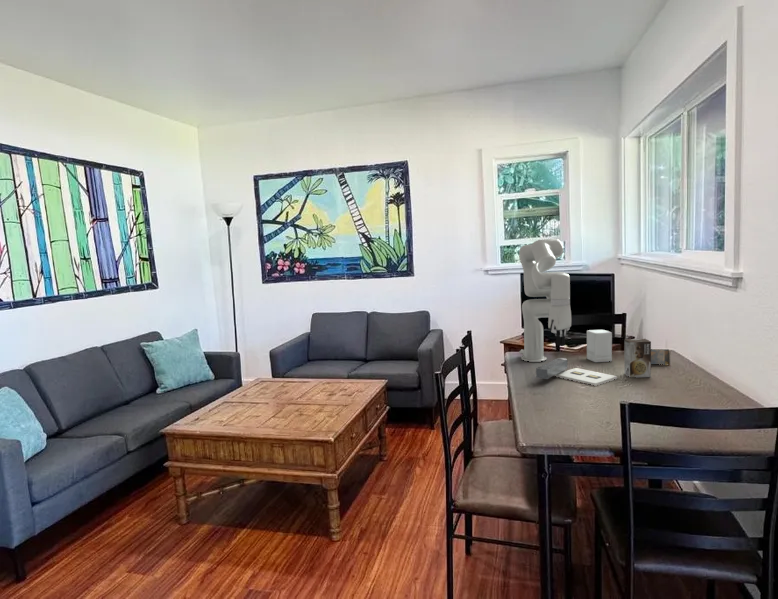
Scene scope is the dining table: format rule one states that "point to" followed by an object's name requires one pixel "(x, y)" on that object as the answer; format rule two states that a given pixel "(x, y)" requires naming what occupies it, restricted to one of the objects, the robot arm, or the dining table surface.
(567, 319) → the robot arm
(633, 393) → the dining table surface
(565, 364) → the swing bar
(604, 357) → the supplement box
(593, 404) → the dining table surface
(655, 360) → the blue grey rectangular box
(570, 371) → the label board
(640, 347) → the coffee box
